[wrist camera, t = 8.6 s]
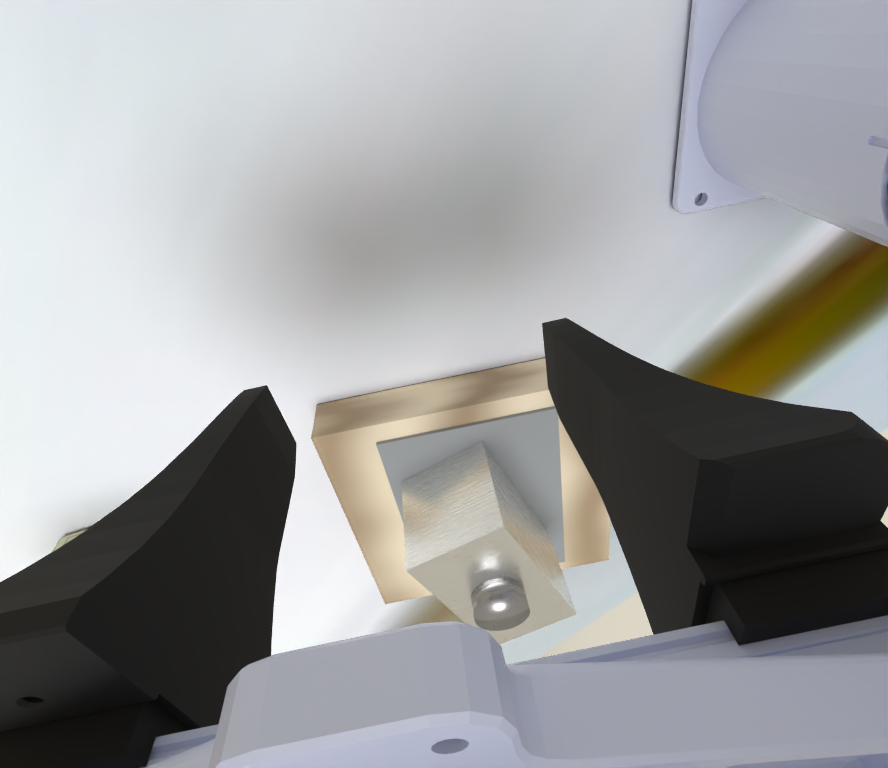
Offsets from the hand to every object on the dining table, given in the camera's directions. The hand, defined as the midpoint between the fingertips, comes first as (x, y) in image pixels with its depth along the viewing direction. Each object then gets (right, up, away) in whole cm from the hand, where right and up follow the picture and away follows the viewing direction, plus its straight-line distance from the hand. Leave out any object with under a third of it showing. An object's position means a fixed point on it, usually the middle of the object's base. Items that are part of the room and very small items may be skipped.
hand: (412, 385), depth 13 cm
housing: (+3, -6, +13) cm, 15 cm away
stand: (+3, -5, +15) cm, 17 cm away
